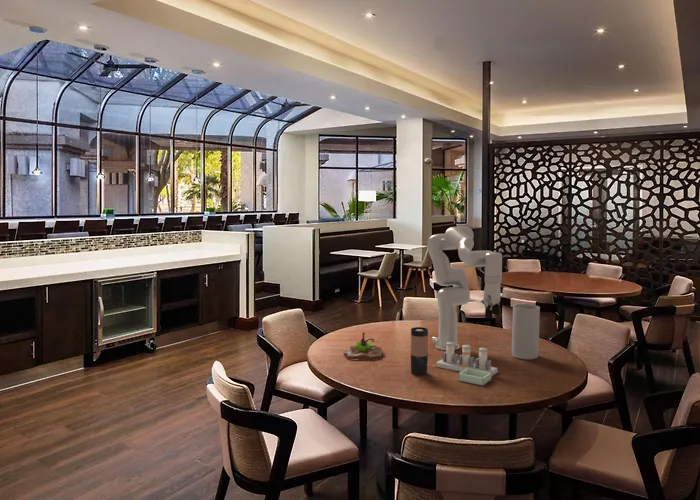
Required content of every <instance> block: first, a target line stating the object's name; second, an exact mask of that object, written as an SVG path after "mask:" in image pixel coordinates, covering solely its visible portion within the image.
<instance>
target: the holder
mask: <svg viewBox="0 0 700 500" xmlns="http://www.w3.org/2000/svg"><path fill="white" fill-rule="evenodd" d="M435 367H437V368H442V369H446V370H451V371H454V372H455V371H456V372H458V373H460V372H462V371H463V370H465V369H467V368H470V369H475V370H480V371H485V372H490V373H492V377H493V376H494V375H495V374H497V373H498V367H494V366H492V360H491V359H489V360H488V359H487V369H486V370H481V369H479V357H477V358H475V357H474V356H470V366H463V365H462V354H460V355H459V354H458V353H454V356H453V363H447V362H446V351H444V352H442V358H441V359H440V360H438V361H436V362H435Z"/></svg>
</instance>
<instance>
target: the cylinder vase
mask: <svg viewBox="0 0 700 500" xmlns="http://www.w3.org/2000/svg"><path fill="white" fill-rule="evenodd" d="M540 311H541V307H540V305H539V306H538V305H535V304H526V303H517V304H514V305H512V327H511V328H512V330H511V331H512V332H511V334H512V335H511V355H512V357H514V358H516V359H519V360H525V361H526V360H527V361H530V360H535V359H538V357H539V344H540V343H539V342H540V314H541V313H540Z"/></svg>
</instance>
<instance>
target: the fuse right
mask: <svg viewBox="0 0 700 500" xmlns="http://www.w3.org/2000/svg"><path fill="white" fill-rule="evenodd" d="M488 351H489V350H488V347H479V348H478V358H479V369H481V370H486V369H487V361H488Z"/></svg>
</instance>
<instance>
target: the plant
mask: <svg viewBox="0 0 700 500" xmlns="http://www.w3.org/2000/svg"><path fill="white" fill-rule="evenodd" d="M361 335H362V337H361V339H360V340H359V342H358V341H355V345H351V346H348V347H346V350H343V357H344V356H346V357H345V358H346V359H347V358H348V359H347V360H349V359H366V360H365V361H375V360H374V359H378V360H381V359H382V356H383V357H385V355H384V354H385V352H384V350H383V348H382V347H381V346H377V345H375V339H374V338H372V337H371V338H368V339H366V340H365V335H366V333H365V332H362V334H361ZM370 341H371V342H372V343H371V342H370ZM370 343H371V344H370ZM380 358H381V359H380Z"/></svg>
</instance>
